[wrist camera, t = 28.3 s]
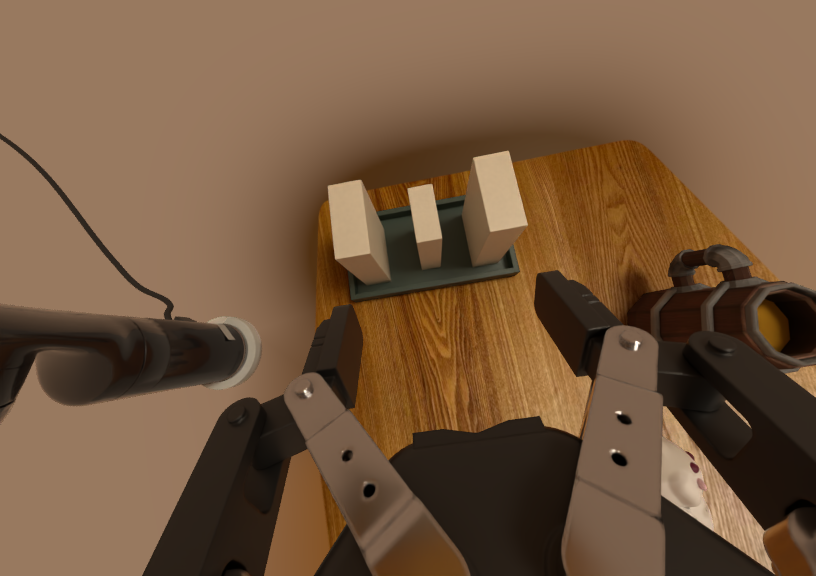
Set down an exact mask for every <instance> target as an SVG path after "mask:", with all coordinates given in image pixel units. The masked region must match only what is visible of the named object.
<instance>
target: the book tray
mask: <svg viewBox="0 0 816 576" xmlns="http://www.w3.org/2000/svg"><path fill="white" fill-rule="evenodd" d="M465 196H466V195H463V196H458V197H453V198H447V199H442V200H437V201H435V202H436V207H437V213H438V218H439V223H440V229H441V234H442V251H441V267H437V268H432V269H426V270H422V268H421V263H420V258H419V253H418V247H417V242H416V236H415V231H414V225H413V219H412V213H411V207H410V206H405V207H399V208H394V209H389V210H383V211H378V212H376V213H377V215H378V217H379V220H380V222H381V224H382V226H383V228H384V233H385V240H386V247H387V254H388V262H389V269H390V276H391V282H385V283H379V284H373V285H366V284H365V283H363V282H362V281H361V280H360V279H358V278H357V277H356V276H355V275H354V274H352V273H351V272H350V271H349V270H348V277H349V286H350V295H351V300H352V301H354V302H361V301H367V300H372V299H378V298H384V297H390V296H396V295H402V294H408V293H414V292H420V291H426V290H432V289H438V288H444V287H450V286H456V285H462V284H468V283H474V282H480V281H486V280H492V279H498V278H504V277H510V276H515V275H516V274H518V273H519V272H520V270H519V266H518V262H517V258H516V253H515V249H514V245H512V246H511V247H510V248H509V250H508V251H507V252H506V253H505V255H504V256H503V257H502V259H501V260H500V261H499V262H498V263H495V264H490V265H484V266H478V267H472V262H471V257H470V253H469V248H468V243H467V238H466V233H465V229H464V224H463V219H462V211H463V206H464V201H465Z"/></svg>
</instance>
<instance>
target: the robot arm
mask: <svg viewBox="0 0 816 576" xmlns="http://www.w3.org/2000/svg"><path fill="white" fill-rule="evenodd" d="M0 139H1V140H3V141H4V142H6V143H7V144H8V145H10V146H11V147H12V148H14V149H15V150H16V151H17V152H18V153H20V154H21V155H22V156H23V157H24V158H26V159H27V160H28V161H29V162H30V163H31V164H32V165H33V166H34V167H35V168H36V169H37V170H38V171H39V172H40V173H41V174H42V175H43V176H44V177H45V179H47V181H48V182H49V183H50V184H51V186H52V187H53V188H54V189H55V190H56V191H57V193H58V194H59V195H60V197H61V198H62V199H63V201H64V202H65V203H66V205H67V206H68V207H69V209H70V210H71V211H72V213H73V214H74V215H75V217H76V218H77V219H78V221H79V222H80V223H81V225H82V226H83V227H84V229H85V230H86V231H87V233H88V234H89V235H90V237H91V238H92V239H93V241H94V242H95V243H96V244H97V246H98V247H99V248H100V249H101V251H102V252H103V253H104V254H105V256H106V257H107V258H108V259H109V260H110V261H111V263H112V264H113V265H114V266H115V267H116V268H117V270H118V271H119V272H120V273H121V274H122V275H123V276H124V278H126V279H127V281H128V282H130V283H131V284H132V285H133V286H134V287H135V288H137V289H138V290H140V291H141V292H143V293H145V294H147V295H150V296H152V297H155V298H157V299H159V300H161V301H163V302H164V303H165V304H166V305H167V309H166V310H165V312H164V317H165V319H152V318H138V317H126V316H116V315H103V314H92V313H83V312H73V311H62V310H50V309H40V308H32V307H23V306H15V305H7V304H0V424H1V423H2V422H3V420H4V419H5V418H6V416H7V415H8V413H9V412H10V410H11V409H12V407H13V405H14V403H15V400H16V398H17V396H18V394H19V392H20V390H21V388H22V386H23V383H24V381H25V379H26V377H27V375H28V373H29V371H30V369H31V366H32V364H33V362H34V360H35V363H36V373H37V377H38V381H39V383H40V385H41V387H42V389H43V391H44V392H45V393H46V395H47V396H48V397H50V398H51V399H52V400H54V401H55V402H58V403H60V404H62V405H67V406H86V405H92V404H97V403H103V402H108V401H113V400H118V399H125V398H130V397H136V396H140V395H146V394H152V393H157V392H163V391H168V390H173V389H179V388H185V387H190V386H196V385H201V384H207V383H213V382H222V381H226V380H229V379H231V378H232V377H234V376H235V375H236V374H237V373H238V372H239V371H240V370H241V369H242V367H243V366H244V364H245V362H246V359H247V355H248V344H247V340H246V338H245V336H244V334H243V333H242V331H241V330H240V329H238V328H237V327H235V326H233V325H230V324H213V323H202V322H197V321H194V320H192V319H190V318H186V317H175V319H174V320H172V318H171V311H172V310H173V307H174V306H173V304H172V302H171V301H170V300H169V299H168V298H166V297H164V296H162V295H160V294H157V293H155V292H153V291H150V290H149V289H147V288H145V287H143V286H141V285H140V284H139V283H138V282H137V281H135V280H134V279H133V278H132V277H131V276H130V275H129V274H128V273H127V271H126V270H125V269H124V268H123V267H122V266H121V265H120V263H119V262H118V261H117V260H116V259H115V258H114V257H113V255H112V254H111V253H110V252H109V251H108V249H107V248H106V247H105V246H104V245H103V243H102V242H101V241H100V239H99V238H98V237H97V236H96V234H95V233H94V232H93V230H92V229H91V228H90V226H89V225H88V224H87V223H86V221H85V220H84V218H83V217H82V216H81V214H80V213H79V212H78V210H77V209H76V208H75V206H74V205H73V204H72V202H71V201H70V200H69V198H68V197H67V196H66V195H65V193H64V192H63V191H62V190H61V188H59V186H58V185H57V184H56V183H55V181H54V180H53V179H52V178H51V177H50V176H49V175H48V173H47V172H46V171H44V169H43V168H42V167H41V166H40V165H39V164H38V163H37V162H36V161H35V160H34V159H32V158H31V157H30V156H29V155H28V154H27V153H26V152H24V151H23V150H22V149H21V148H19V147H18V146H17V145H16V144H14V143H13V142H11V141H10V140H8V139H7V138H6V137H4V136H3V135H1V134H0ZM534 306H535V311H536V314H537V316H538V318H539V319H540V321H541V323H542V324H543V326H544V327H545V329H546V330H547V332H548V333H549V335H550V337H551V338H552V340H553V341H554V343H555V344H556V346H557V347H558V349H559V351H560V352H561V354H562V355H563V357H564V358H565V360H566V361H567V363H568V364H569V366H570V368H571V369H572V371H573V372H574V374H575V375H576V377H580V376H587V375H589V377H590V378H591V380H592V382H591V386H590V390H589V395H588V399H587V403H586V408H585V412H584V416H583V421H582V425H581V429H580V433H579V437H576V436H574V435H572V434H570V433H568V432H565V431H562V430H559V429H556V428H551V427H546V426H544V425H543V423H542V420H541V418H540V416H537V417H529V418H522V419H514V420H508V421H505V422H503V423H500V424H498V425H496V426H493V427H491V428H488V429H486V430H484V431H481V432H479V433H471V432H463V431H455V430H446V429H440V430H433V431H426V432H418V433H413V443H412V444H410V445H408V446H406V447H405V448H403V449H401V450H400V451H399V452H397V453H396V454H395V455H394V456H393V457H392V458H391V459H389V461H388V460H387V458H386V457H385V456H384V454H383V453H382V452H381V450H380V449H379V448H378V446H377V445H376V444H375V442H374V441H373V440H372V439H371V437H370V436H369V435H368V433H367V432H366V431H365V429H364V428H363V427H362V425H361V424H360V423H359V421H358V420H357V419H356V418H355V416H354V415H353V414H352V412H351V411H350V410H349V408H355V402H356V395H357V387H358V379H359V371H360V363H361V355H362V347H363V335H362V330H361V327H360V325H359V322H358V319H357V316H356V313H355V311H354V308H353V306H352V305H351V304H349V305H343V306H337V307H334V308H333V311H332V315H331V318H330V319H328V320H324V321H323V322H322V323H321V324H320V326H319V327H318V328H317V330H316V333H315V336H314V340H313V342H312V345H311V346H312V347H311V348H310V351H309V354H308V357H307V360H306V363H305V366H304V369H303V372H302V375H300V376H299V377H297V378H296V379H294V380H293V381H292V382H291V383H290V384H289V385H288V387H287V388H286V390H285V393H284V394H283V395H282V396H279V397H277V398H274V399H272V400H270V401H268V402H265V403H263V404H260V403H259V402H258V401H257V399H255V398H244V399H241V400H238V401H237V402H235V403H233V404H232V405H230V406H229V407H228V408H227V409H226V410H225V411H224V412H223V413H222V414H221V416H220V417H219V419H218V421H217V423H216V425H215V427H214V429H213V431H212V433H211V435H210V437H209V439H208V441H207V443H206V445H205V447H204V449H203V451H202V454H201V456H200V458H199V460H198V462H197V464H196V466H195V468H194V470H193V472H192V474H191V476H190V478H189V480H188V482H187V485H186V487H185V489H184V491H183V493H182V495H181V497H180V499H179V501H178V503H177V505H176V507H175V509H174V511H173V513H172V515H171V517H170V520H169V522H168V524H167V526H166V528H165V530H164V532H163V534H162V536H161V538H160V540H159V542H158V544H157V546H156V549H155V550H154V552H153V555H152V557H151V559H150V561H149V563H148V565H147V567H146V569H145V571H144V573H143V575H142V576H264V573H265V568H266V564H267V560H268V555H269V550H270V546H271V542H272V538H273V533H274V529H275V525H276V520H277V516H278V512H279V507H280V503H281V499H282V494H283V490H284V486H285V481H286V477H287V473H288V468H289V463H290V460H291V456H293V455H296V454H298V453H300V452H302V451H304V450H306V449H308V450H309V452H310V454H311V456H312V458H313V460H314V462H315V463H316V465H317V467H318V469H319V471H320V473H321V475H322V477H323V479H324V481H325V483H326V484H327V486H328V488H329V490H330V492H331V494H332V496H333V498H334V500H335V502H336V504H337V505H338V507H339V509H340V511H341V513H342V515H343V517H344V519H345V521H346V523H347V524H346V526H345V527H344V529H343V531H342V532H341V534H340V535H339V537H338V538H337V540H336V542H335V543H334V545H333V546H332V548H331V549H330V551H329V553H328V554H327V556H326V557H325V559H324V560H323V562H322V564H321V565H320V567H319V568H318V570H317V572H316V573H315V575H314V576H816V398H815V397H814V396H813V395H811V394H810V393H809V392H808V391H806V390H805V389H804V388H802V387H801V386H800V385H798V384H797V383H796V382H795V381H793V380H792V379H791V378H789V377H788V376H787V375H785V374H784V373H783V372H782V371H780V370H779V369H778V368H776V367H775V366H774V365H773V364H771V363H770V362H769V361H767V360H766V359H765V358H763V357H762V356H761V355H760V354H758V353H757V352H756V351H754V350H753V349H752V348H750V347H749V346H748V345H746V344H745V343H744V342H742V341H740V340H738V339H736V338H734V337H732V336H729V335H726V334H723V333H719V332H713V331H699V332H695V333H693V334H692V335H691V336H690V337H689V339H688V341H687V343H682V342H669V341H658V340H656V339H655V338H654V337H653V336H652V335H650V334H649V333H647V332H646V331H644V330H642V329H639V328H636V327H632V326H625V325H623V324H622V323H621V322H620V321H619V320H618V319H617V318H616V317H615V316H614V315H613V314H612V313H611V312H610V311H609V310H608V309H607V308H606V307H605V306H604V305H603V304H602V303H601V302H599V300H598V299H597V298H596V297H595V296H593V293H592V292H591V291H590V290H589V289H588V288H587V287H586V286H584V285H582V284H580V283H578V282H576V281H574V280H567V279H566V278H565V277H564V276H563V275H562V274H561V273H560V272H559V271H558V270H555V271H549V272H543V273H538V274H537V277H536V288H535V299H534ZM725 400H727V401H728V402H729V403H730V404H731V405H732V406H733V407H734V408H735V409H736V410H737V411H738V412H739V413H740V414H741V415H742V416H743V417H744V418H745V419H746V420H747V421H748V423H749V424H750V426H751V428H750V427H749V426H748V425H747V424H746V423H745V422H744V421H743V420H742V419H741V418H740V417H739V416H738V415H737V414H736V413H735V412H734V411H733V410H732V409H731V408H730V407H729V406H728V405H727V404H726V403H725ZM663 406H666V407H667V408H668V409H669V410H670V412H671V413H672V414H673V416H674V417H675V418H676V419H677V421H678V422H679V423H680V424H681V426H682V427H683V428H684V429H685V431H686V432H687V433H688V434H689V436H690V437H691V438H692V440H693V441H694V442H695V443H696V445H697V446H698V447H699V448H700V450H701V451H702V452H703V453H704V455H705V456H706V457H707V458H708V460H709V461H710V462H711V464H712V465H713V466H714V467H715V469H716V470H717V471H718V472H719V474H720V475H721V476H722V477H723V479H724V480H725V481H726V482H727V484H728V485H729V486H730V488H731V489H732V490H733V491H734V493H735V494H736V495H737V496H738V498H739V499H740V500H741V501H742V503H743V504H744V505H745V506H746V508H747V509H748V510H749V512H750V513H751V514H752V515H753V517H754V518H755V519H756V520H757V522H758V523H759V524H760V525H761V527H762V528H763V529H764V530H765V532H764V534H763V544H764V547H765V550H766V552H767V555H768V557H769V558H770V560H771V561H772V563H771V566H772V570H773V572H774V573H775V574H773V573H772V572H770V571H769V570H768V569H766V568H765V567H764V566H762V565H761V564H759V563H758V562H756V561H755V560H754V559H752V558H751V557H749V556H748V555H746V554H745V553H744V552H742V551H741V550H739V549H738V548H736V547H735V546H734V545H732V544H731V543H729V542H728V541H726V540H725V539H724V538H722V537H721V536H719V535H718V534H716V533H715V532H714V531H712V530H711V529H709V528H708V527H706V526H705V525H704V524H702V523H701V522H699V521H698V520H696V519H695V518H694V517H692V516H691V515H689V514H688V513H686V512H685V511H683V510H682V509H681V508H679V507H678V506H676V505H675V504H673V503H672V502H671V501H669V500H668V499H666V498H665V497H663V496H662V495H661V474H662V426H663Z"/></svg>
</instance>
